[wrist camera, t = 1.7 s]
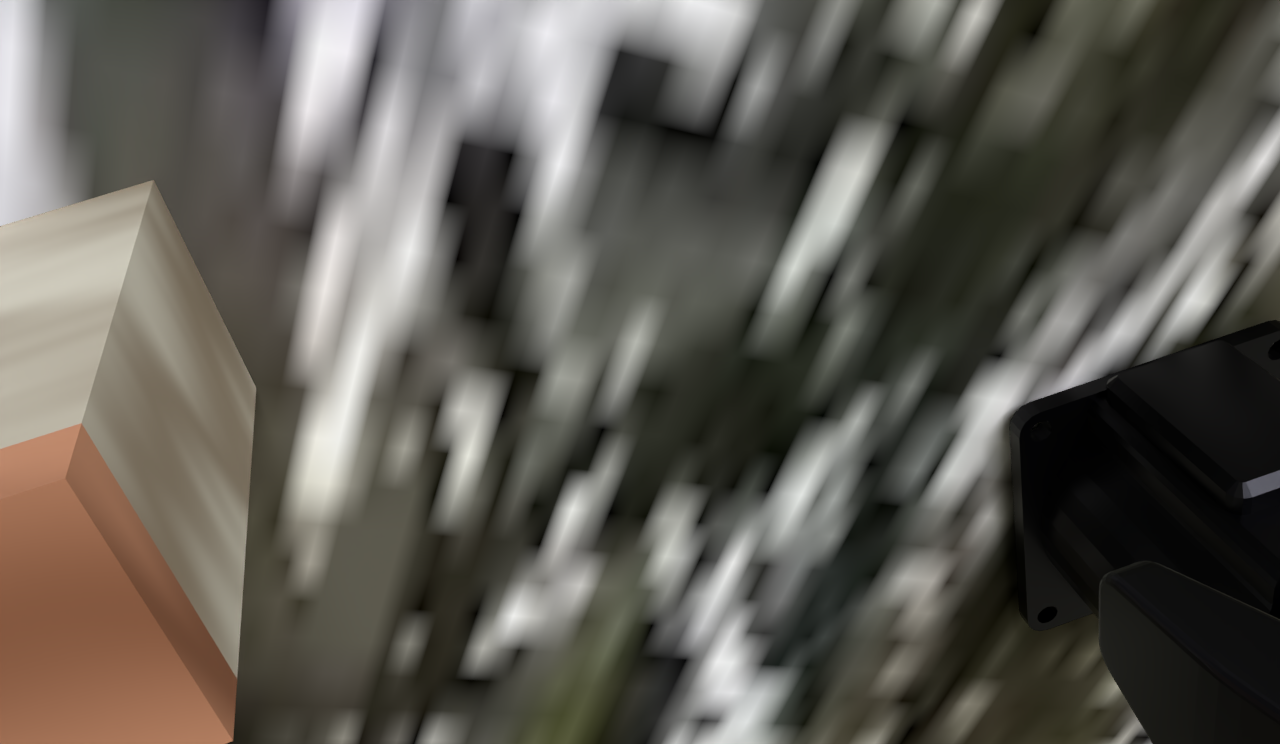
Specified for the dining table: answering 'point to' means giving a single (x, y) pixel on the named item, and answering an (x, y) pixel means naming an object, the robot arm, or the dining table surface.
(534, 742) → the dining table surface
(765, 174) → the dining table surface
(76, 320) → the tall block
